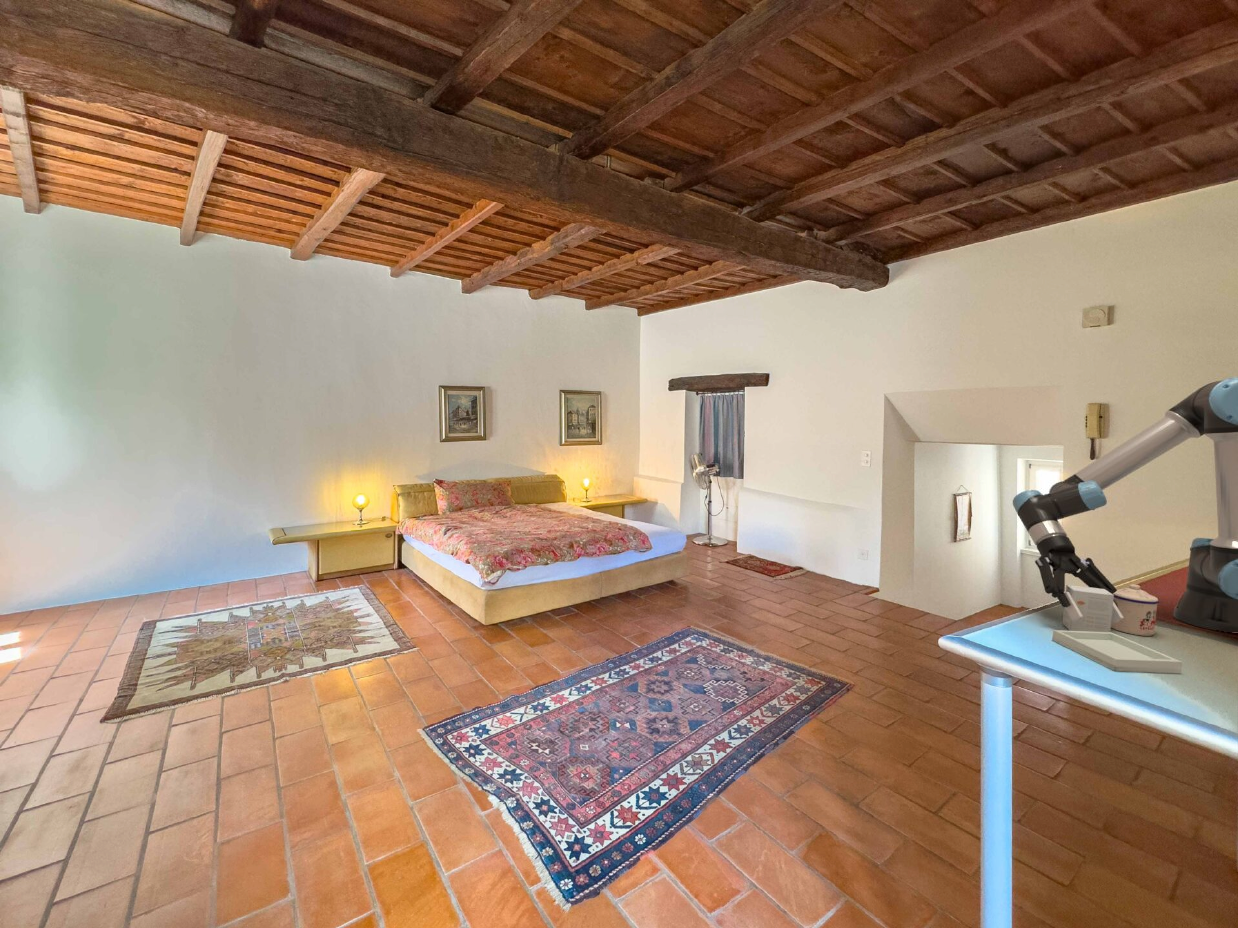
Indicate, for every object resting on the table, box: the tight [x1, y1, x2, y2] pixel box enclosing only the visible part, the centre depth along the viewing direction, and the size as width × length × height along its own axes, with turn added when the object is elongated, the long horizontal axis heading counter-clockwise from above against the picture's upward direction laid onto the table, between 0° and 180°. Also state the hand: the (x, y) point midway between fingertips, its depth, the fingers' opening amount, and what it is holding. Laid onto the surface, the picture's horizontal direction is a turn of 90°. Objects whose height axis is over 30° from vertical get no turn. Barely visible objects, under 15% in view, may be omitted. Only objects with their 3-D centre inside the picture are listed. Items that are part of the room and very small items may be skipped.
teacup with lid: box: [1111, 583, 1160, 637], centre depth 139 cm, size 12×9×12 cm
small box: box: [1062, 584, 1114, 632], centre depth 135 cm, size 8×6×10 cm
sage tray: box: [1051, 629, 1183, 674], centre depth 121 cm, size 14×16×2 cm
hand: (1098, 619), depth 132 cm, fingers closed on small box, 9 cm apart
